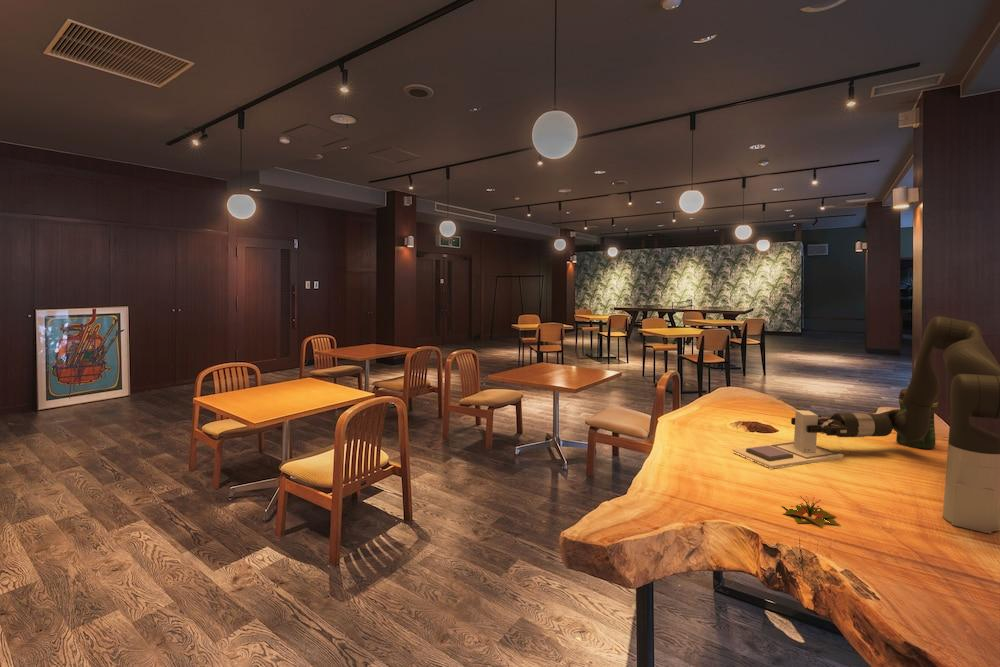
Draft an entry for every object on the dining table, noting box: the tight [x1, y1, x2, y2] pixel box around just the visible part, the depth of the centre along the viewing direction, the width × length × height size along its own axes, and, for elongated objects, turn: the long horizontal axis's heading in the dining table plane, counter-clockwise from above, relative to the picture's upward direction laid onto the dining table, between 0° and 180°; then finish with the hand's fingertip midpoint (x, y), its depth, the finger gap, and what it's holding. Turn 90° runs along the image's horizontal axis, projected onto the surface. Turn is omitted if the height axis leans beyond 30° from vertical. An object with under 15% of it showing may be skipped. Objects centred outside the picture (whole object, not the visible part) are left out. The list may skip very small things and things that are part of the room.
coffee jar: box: [895, 387, 939, 449], centre depth 160 cm, size 10×8×19 cm
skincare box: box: [793, 409, 819, 453], centre depth 154 cm, size 6×4×12 cm
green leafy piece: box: [783, 495, 841, 528], centre depth 113 cm, size 12×12×5 cm
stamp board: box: [731, 440, 844, 468], centre depth 152 cm, size 28×15×2 cm, turn 107°
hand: (799, 425), depth 154 cm, fingers open, 8 cm apart
